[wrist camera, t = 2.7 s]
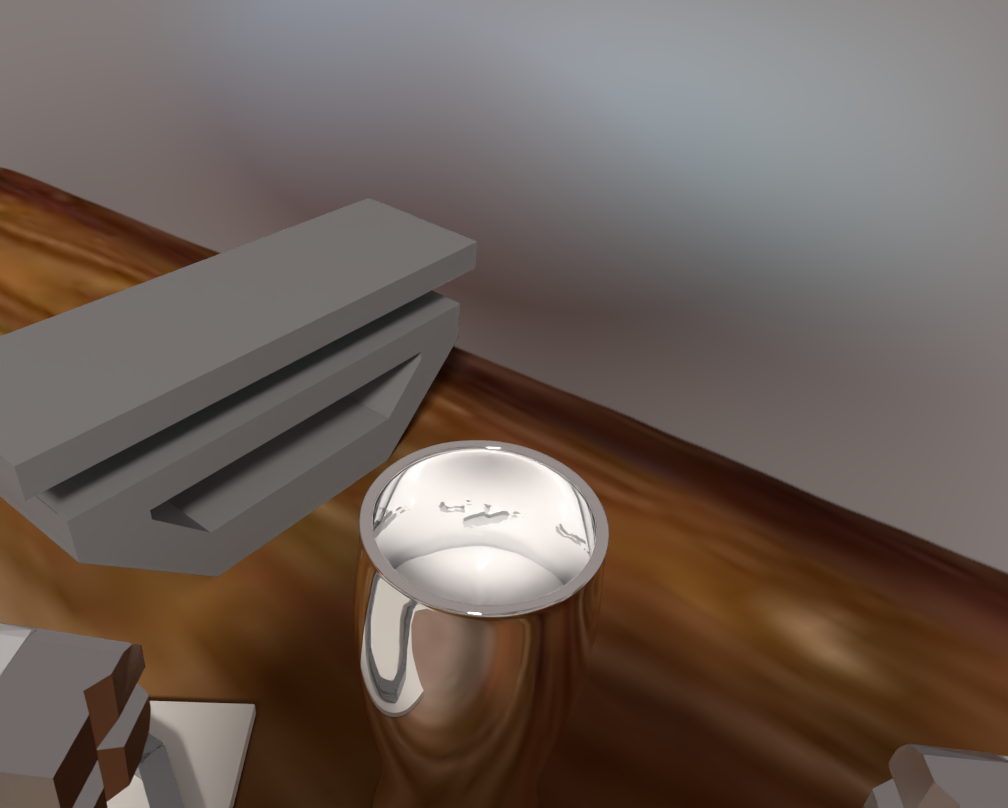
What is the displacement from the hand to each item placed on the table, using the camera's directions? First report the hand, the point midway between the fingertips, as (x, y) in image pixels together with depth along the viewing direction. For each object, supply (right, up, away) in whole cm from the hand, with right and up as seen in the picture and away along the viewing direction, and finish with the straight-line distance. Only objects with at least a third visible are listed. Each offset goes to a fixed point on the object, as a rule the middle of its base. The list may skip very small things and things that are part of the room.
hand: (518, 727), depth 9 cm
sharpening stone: (-13, -1, +36) cm, 38 cm away
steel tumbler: (-2, -12, +22) cm, 25 cm away
